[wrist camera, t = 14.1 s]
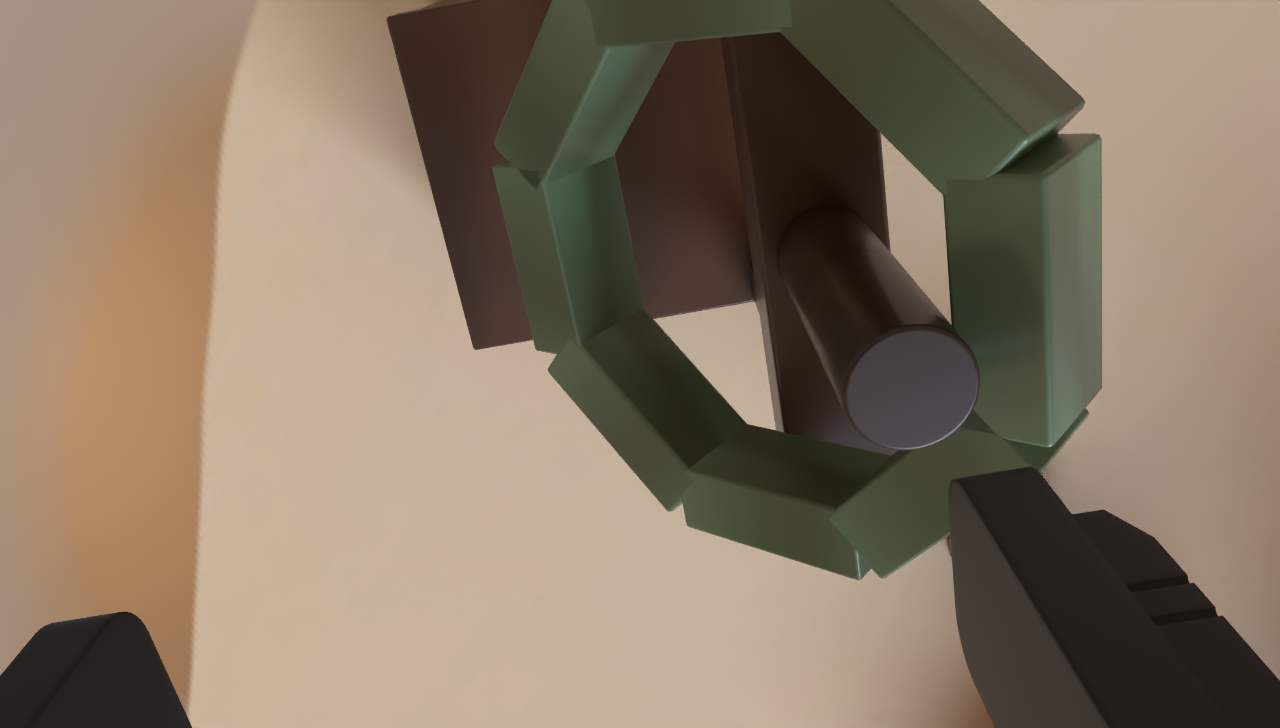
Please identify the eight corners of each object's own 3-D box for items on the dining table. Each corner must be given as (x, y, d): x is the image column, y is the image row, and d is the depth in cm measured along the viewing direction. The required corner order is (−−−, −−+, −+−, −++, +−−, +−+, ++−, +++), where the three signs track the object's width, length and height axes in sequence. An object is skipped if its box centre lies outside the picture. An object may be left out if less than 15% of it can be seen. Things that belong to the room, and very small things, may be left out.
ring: (628, 448, 24) (568, 490, 22) (526, -36, 19) (446, -19, 18) (1104, 573, 17) (1056, 645, 15) (1103, -141, 12) (1038, -126, 11)
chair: (503, 266, 39) (321, 786, 16) (437, -3, 36) (60, 138, 12) (773, 218, 39) (1018, 680, 15) (737, -61, 35) (989, -39, 11)
